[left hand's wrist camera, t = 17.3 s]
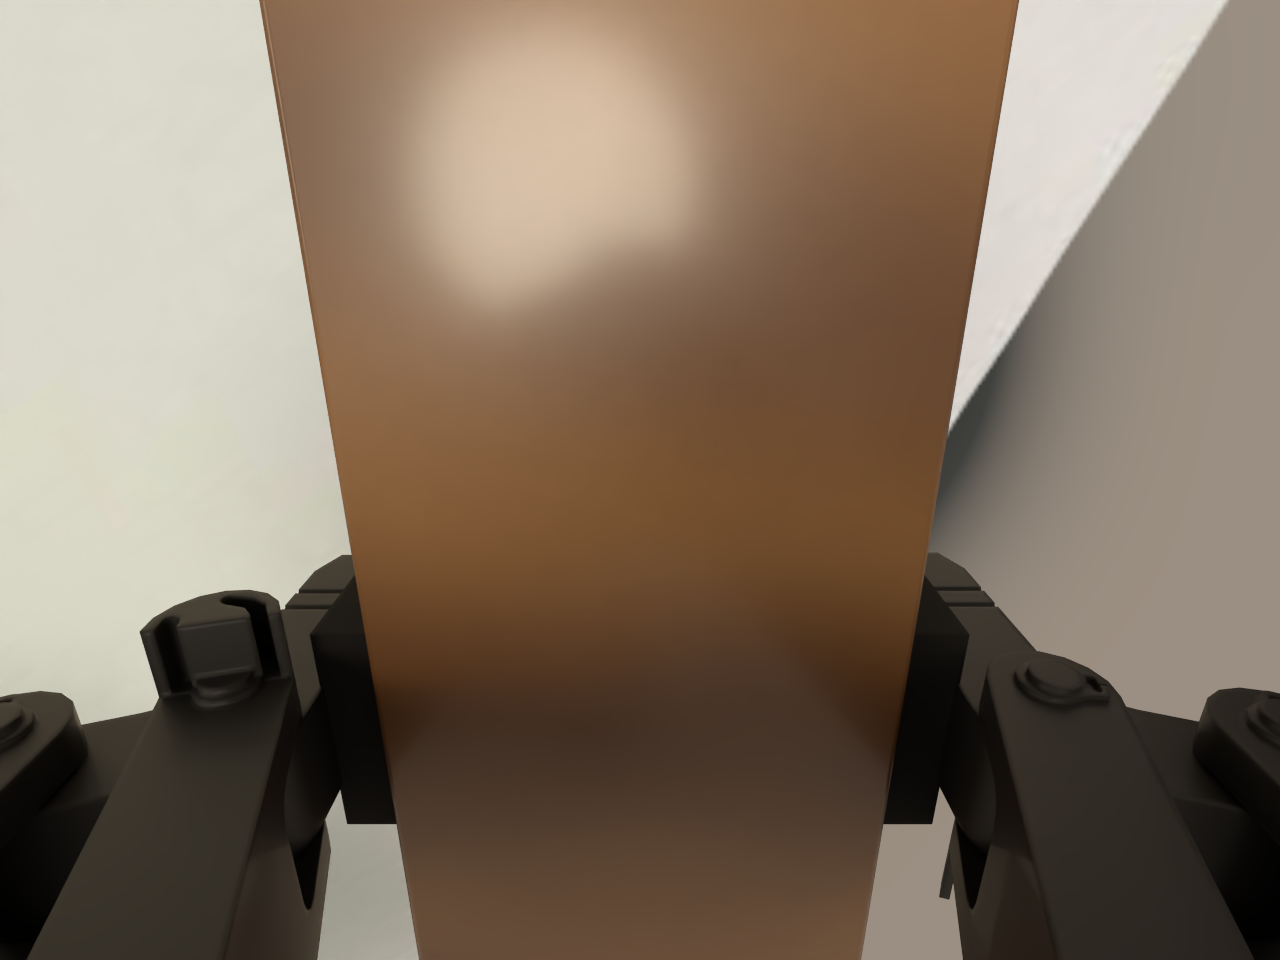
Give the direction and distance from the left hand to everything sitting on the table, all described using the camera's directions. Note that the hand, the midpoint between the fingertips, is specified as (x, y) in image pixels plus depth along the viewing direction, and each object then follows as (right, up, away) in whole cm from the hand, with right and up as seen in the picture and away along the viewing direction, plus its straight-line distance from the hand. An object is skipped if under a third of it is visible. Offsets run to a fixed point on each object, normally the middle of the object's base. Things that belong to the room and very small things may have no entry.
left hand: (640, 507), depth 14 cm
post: (0, +21, -8) cm, 23 cm away
